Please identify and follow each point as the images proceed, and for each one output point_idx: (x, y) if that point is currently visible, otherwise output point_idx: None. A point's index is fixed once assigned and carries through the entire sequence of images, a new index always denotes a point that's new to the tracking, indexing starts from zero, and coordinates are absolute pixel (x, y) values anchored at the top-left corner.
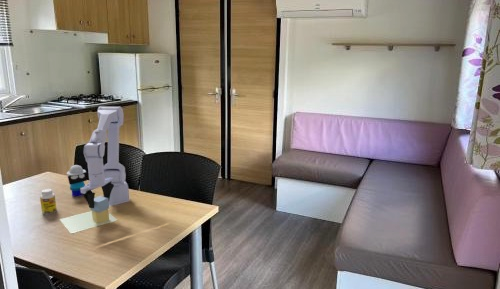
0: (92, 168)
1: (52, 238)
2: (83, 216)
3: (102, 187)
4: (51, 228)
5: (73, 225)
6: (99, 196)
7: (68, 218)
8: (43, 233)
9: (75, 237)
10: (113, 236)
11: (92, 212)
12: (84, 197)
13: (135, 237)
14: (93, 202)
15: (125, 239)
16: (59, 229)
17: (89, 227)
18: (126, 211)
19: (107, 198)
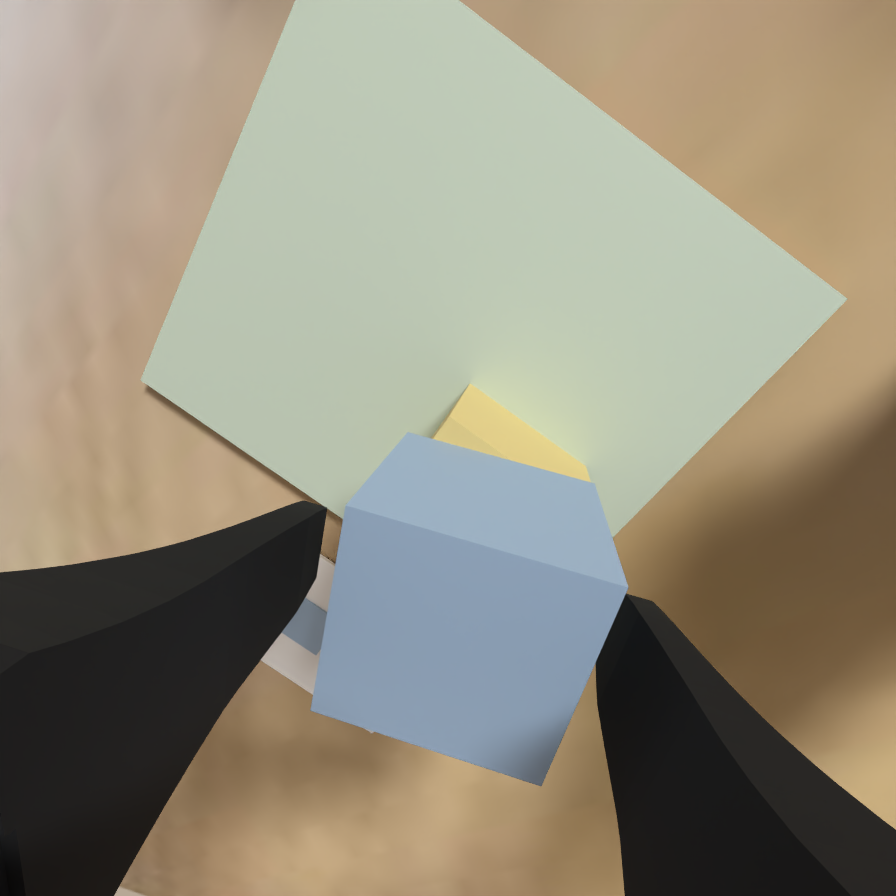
0: None
1: (33, 245)
2: (509, 214)
3: (773, 873)
4: (152, 26)
5: (270, 275)
6: (584, 602)
7: (398, 38)
8: (40, 42)
9: (143, 440)
10: (278, 697)
11: (439, 428)
12: (97, 562)
13: (322, 820)
14: (242, 664)
15: (277, 777)
16: (177, 156)
17: (299, 469)
18: (776, 607)
19: (520, 778)
